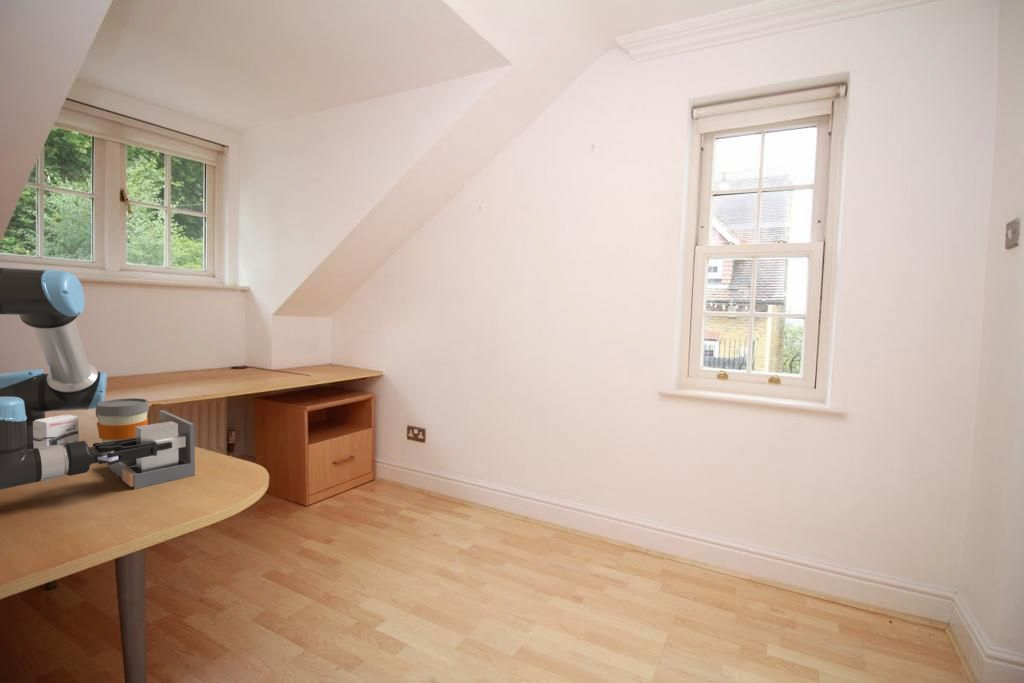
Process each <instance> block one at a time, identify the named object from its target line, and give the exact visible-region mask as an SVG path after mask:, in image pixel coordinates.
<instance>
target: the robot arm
mask: <svg viewBox="0 0 1024 683" xmlns="http://www.w3.org/2000/svg"><path fill="white" fill-rule="evenodd" d="M85 301H86V300H85V295H84V289H83V286H82V284H81V281H80V280H79V278H78V277H77V275H75V274H73V273H72V272H69V271H66V270H65V271H64V270H56V269H32V268H17V267H16V268H13V267H0V315H11V316H12V315H15V316H17V315H18V316H19V318H20V320H21V322H23V323H24V324H25V326H28V327H30V328H32V330H33V331H34V334H35V337H36V339H37V342H38V345H39V346H40V349H41V351H42V354H43V358H44V359H45V361H46V364H47V367H48V369H49V373H45V371H44V369H42V368H30V369H29V368H28V369H22V370H14V371H9V372H3V373H0V490H5V489H11V488H15V487H20V486H24V485H29V484H34V483H35V484H36V483H40V482H44V483H50V482H51V480H54V479H60V478H63V477H65V475H66V476H69V477H71V476H76V475H81V474H86V473H88V472H89V470H90V467H91V465H93V464H99V465H100V464H101V465H102V464H107V466H108V465H112V464H115V463H119V462H123V461H128V460H133V459H138V458H143V457H148V456H157V452H160V451H165V450H171V449H176V448H181V447H186V437H185V436H183V437H179V433H178V437H177V438H171V439H165V440H159V441H155V442H154V443H148V444H140V445H136V438H129V439H123V440H116V441H110V442H102V441H101V442H94V443H92V446H91V447H89V445H88V442H86V441H84V440H79V442H72V443H66V444H65V445H64V446H62V445H60V444H58V445H52V446H46V447H40V448H34V445H33V421H35V420H38V419H43V418H46V412H47V413H48V412H59V411H60V412H61V411H63V412H64V411H65V412H66V411H80V410H81V411H83V410H86V411H88V410H92V409H93V410H95V409H96V405H97V403H99V402H103V401H105V398H106V392H107V385H108V384H107V382H108V374H107V373H106V371H98V370H97V368H96V367H95V366H94V365H92V364H91V363H89V361H88V359H87V355H86V353H85V349H84V346H83V342H82V339H81V337H80V333H79V330H78V327H77V324H76V320H77V319H78V317H79V316H81V314H83V313H84V310H85V304H86V302H85Z"/></svg>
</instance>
